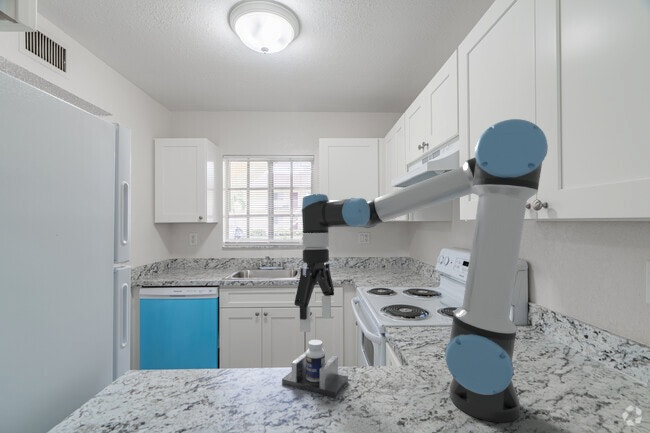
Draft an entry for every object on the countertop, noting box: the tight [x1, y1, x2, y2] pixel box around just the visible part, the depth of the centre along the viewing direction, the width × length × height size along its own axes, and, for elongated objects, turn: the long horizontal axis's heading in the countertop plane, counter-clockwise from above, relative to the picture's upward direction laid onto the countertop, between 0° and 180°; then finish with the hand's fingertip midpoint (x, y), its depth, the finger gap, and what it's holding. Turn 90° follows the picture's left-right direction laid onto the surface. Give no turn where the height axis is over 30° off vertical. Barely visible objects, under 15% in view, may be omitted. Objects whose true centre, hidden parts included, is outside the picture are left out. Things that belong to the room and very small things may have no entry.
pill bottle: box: [305, 339, 326, 382], centre depth 81 cm, size 5×5×10 cm
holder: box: [281, 351, 349, 399], centre depth 81 cm, size 16×9×6 cm, turn 65°
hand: (316, 324), depth 82 cm, fingers open, 13 cm apart
